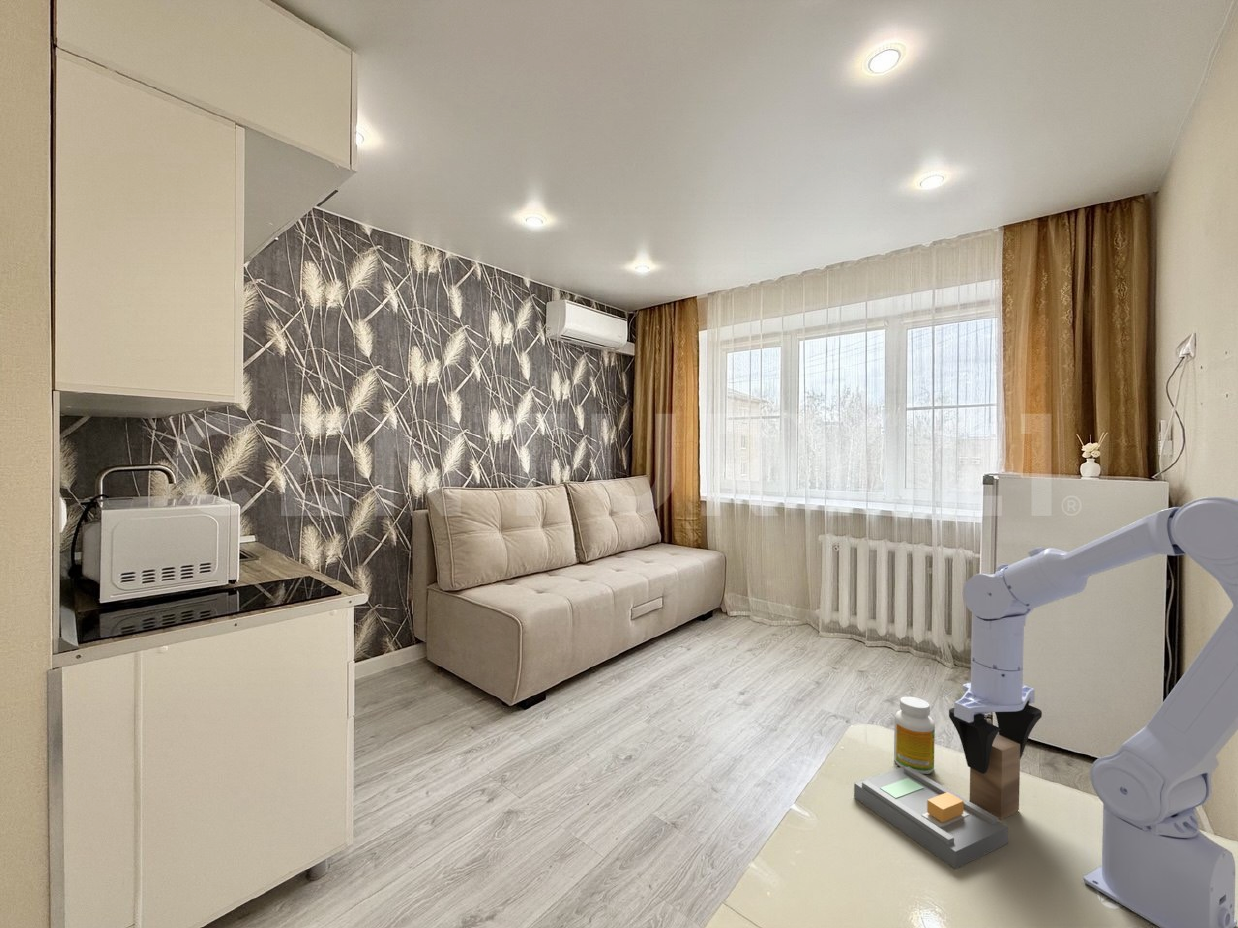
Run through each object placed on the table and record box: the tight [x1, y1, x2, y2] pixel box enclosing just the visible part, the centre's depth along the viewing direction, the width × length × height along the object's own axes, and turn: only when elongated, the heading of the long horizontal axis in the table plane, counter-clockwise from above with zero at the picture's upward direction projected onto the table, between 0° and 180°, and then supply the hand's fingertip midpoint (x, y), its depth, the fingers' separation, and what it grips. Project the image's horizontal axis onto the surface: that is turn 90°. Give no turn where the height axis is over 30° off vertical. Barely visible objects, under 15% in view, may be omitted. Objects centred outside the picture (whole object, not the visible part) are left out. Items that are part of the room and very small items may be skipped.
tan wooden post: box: [969, 733, 1021, 820], centre depth 72 cm, size 4×4×9 cm
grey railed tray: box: [853, 766, 1009, 870], centre depth 69 cm, size 14×10×3 cm
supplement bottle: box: [893, 696, 936, 775], centre depth 81 cm, size 5×5×10 cm
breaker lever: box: [927, 792, 964, 822], centre depth 66 cm, size 2×4×2 cm, turn 115°
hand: (994, 762), depth 72 cm, fingers open, 7 cm apart
